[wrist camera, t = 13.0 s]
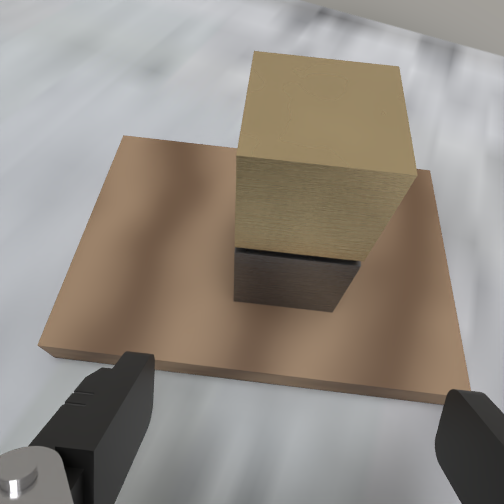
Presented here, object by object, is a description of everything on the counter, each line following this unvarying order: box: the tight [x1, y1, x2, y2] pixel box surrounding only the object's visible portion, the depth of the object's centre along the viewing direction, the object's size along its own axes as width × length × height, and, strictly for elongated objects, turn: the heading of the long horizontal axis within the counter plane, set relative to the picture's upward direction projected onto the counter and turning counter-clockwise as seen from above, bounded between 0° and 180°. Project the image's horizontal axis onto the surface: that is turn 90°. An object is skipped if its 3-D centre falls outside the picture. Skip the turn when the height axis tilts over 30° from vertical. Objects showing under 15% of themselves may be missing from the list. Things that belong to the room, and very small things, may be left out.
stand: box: [38, 135, 471, 405], centre depth 22 cm, size 20×14×2 cm
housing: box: [233, 51, 417, 313], centre depth 16 cm, size 5×5×10 cm
